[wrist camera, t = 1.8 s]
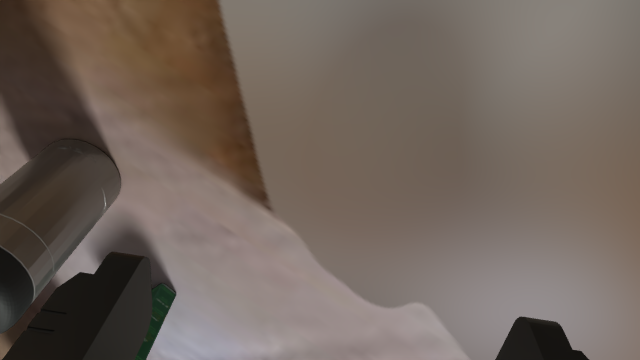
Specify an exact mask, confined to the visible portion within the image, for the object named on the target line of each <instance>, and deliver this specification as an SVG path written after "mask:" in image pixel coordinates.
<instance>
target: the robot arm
mask: <svg viewBox="0 0 640 360" xmlns="http://www.w3.org/2000/svg"><path fill="white" fill-rule="evenodd" d="M120 188H121V180H120V176H119V173H118V170H117V168H116V166H115V165H114V163H113V162H112V161H111V159H110V158H109V157H108V156H107V155H106V154H105V153H104V152H102V151H101V150H99V149H98V148H97V147H95V146H93V145H91V144H89V143H86V142H83V141H80V140H73V139H66V140H59V141H56V142H54V143H52V144H51V145H49V146H48V147H46V148H45V149H44V150H43V151H41V152H40V153H39V154H38V155H36V156H35V157H34V158H33V159H31V160H30V161H29V162H27V163H26V164H25V165H24V166H23V167H21V168H20V169H19V170H18V171H16V172H15V173H14V174H13V175H11V176H10V177H9V178H8V179H6V180H5V181H4V182H3V183H1V184H0V334H1V333H3V332H5V331H7V330H8V329H9V328H11V327H12V326H13V325H14V324H15V323H16V322H17V321H18V320H19V319H20V318H21V317H22V315H23V314H24V313H25V312H26V310H27V309H28V308H29V307H30V305H31V304H32V302H33V301H34V300H35V299H36V297H37V296H38V295H39V294H40V292H41V291H42V290H43V289H44V287H45V286H46V285H47V284H48V282H49V281H50V280H51V278H52V277H53V276H54V275H55V274H56V272H57V271H58V270H59V269H60V267H61V266H62V265H63V264H64V262H65V261H66V260H67V259H68V257H69V256H70V255H71V254H72V253H73V251H74V250H75V249H76V248H77V246H78V245H79V244H80V243H81V241H82V240H83V239H84V238H85V236H86V235H87V234H88V233H89V231H90V230H91V229H92V228H93V227H94V225H95V224H96V223H97V222H98V220H99V219H100V218H101V217H102V216H103V214H104V213H105V212H106V211H107V209H108V208H109V207H110V206H111V204H112V203H113V202H114V201H115V199H116V198H117V196H118V195H119V192H120ZM151 316H152V290H151V271H150V261H149V258H148V257H144V256H137V255H131V254H124V253H118V252H111V253H109V254H108V255H107V256H106V258H105V259H104V261H103V262H102V263H101V265H100V266H99V268H98V269H97V271H96V272H95V274H88V273H82V272H80V273H78V274H77V275H75V276H74V277H73V278H71V279H70V280H68V281H67V282H65V283H64V284H62V285H61V286H59V287H58V288H57V289H56V290H55V291H54V293H53V294H52V295H51V296H50V298H49V299H48V300H47V302H46V303H45V304H44V306H43V307H42V308H41V312H40V313H37V315H36V316H35V317H34V319H33V320H32V321H31V323H30V324H29V325H28V328H27V330H26V331H24V332H23V333H22V334H21V336H20V337H19V338H18V340H17V341H16V342H15V343H14V345H13V346H12V347H11V349H10V350H9V351H8V353H7V354H6V355H5V357H4V358H3V359H2V360H135V358H136V356H137V353H138V351H139V349H140V347H141V345H142V343H143V341H144V339H145V337H146V334H147V332H148V329H149V325H150V321H151ZM495 360H589V359H588V358H587V357H586V356H585V355H584V354H583V353H582V351H577V350H572V348H571V346H570V343H569V341H568V339H567V337H566V335H565V333H564V331H563V329H562V327H561V326H560V325H559V324H558V323H557V322H553V321H546V320H540V319H534V318H527V317H519V318H517V319H516V320H515V322H514V324H513V326H512V328H511V330H510V332H509V334H508V336H507V338H506V340H505V342H504V344H503V346H502V348H501V350H500V352H499V354H498V356H497V358H496V359H495Z"/></svg>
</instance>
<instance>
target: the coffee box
mask: <svg viewBox="0 0 640 360" xmlns="http://www.w3.org/2000/svg"><path fill="white" fill-rule="evenodd" d="M175 297H176V293H175V292H174V291H173V290H171V289H170V288H169V287H168V286H167V285H165V284H162V283H161V284H160V285H158V286H157V287H155V288H153V289H152V316H151V321H150V325H149V329H148V332H147V334H146V337H145V339H144V341H143V343H142V345H141V347H140V349H139V351H138V353H137V356H136V358H135V360H146V358H147V356H148V354H149V352H150V350H151V348H152V345H153V343H154V341H155V339H156V337H157V335H158V333H159V330H160V328H161V326H162V324H163V322H164V320H165V317H166V315H167V314H168V311H169V309H170V307H171V305H172V303H173V301H174V299H175Z"/></svg>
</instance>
